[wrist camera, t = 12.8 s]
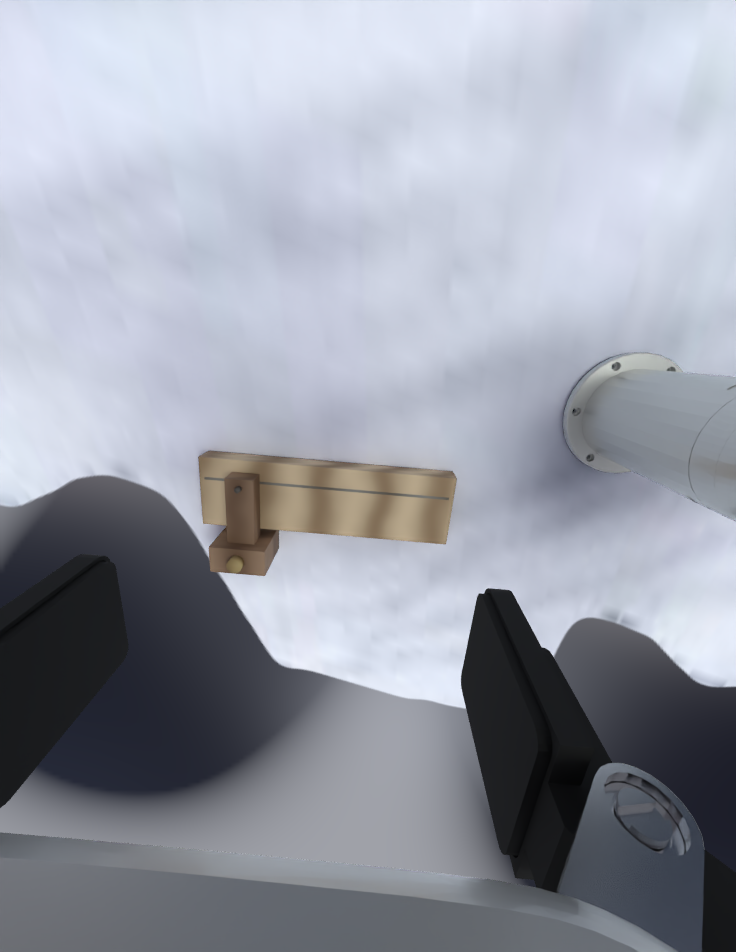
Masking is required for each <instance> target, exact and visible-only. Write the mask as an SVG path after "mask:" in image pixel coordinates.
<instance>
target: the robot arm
mask: <svg viewBox="0 0 736 952" xmlns="http://www.w3.org/2000/svg"><path fill="white" fill-rule="evenodd" d="M612 365H613V367H612ZM573 409H574V412H573V413H572V411H573ZM563 430H564V436H565V439H566V442H567V445H568V446H569V448H570V450H571V452H572V453H573V454H574V455H575V456H576V457H577V458H578V459H579V460H580V461H582V462H583V463H585V464H586V465H588V466H590V467H592V468H594V469H596V470H599V471H603V472H607V473H626V472H631V471H633V472H635V473H637V474H639V475H641V476H643V477H645V478H647V479H649V480H651V481H653V482H656V483H658V484H660V485H662V486H664V487H666V488H668V489H670V490H672V491H674V492H676V493H678V494H680V495H682V496H684V497H686V498H688V499H690V500H692V501H694V502H696V503H698V504H700V505H702V506H704V507H707V508H709V509H711V510H713V511H715V512H717V513H719V514H721V515H723V516H725V517H727V518H729V519H732V520H734V521H736V377H733V376H721V375H709V374H697V373H685V372H683V371H682V370H681V368H680V367H679V366H678V365H676V364H675V363H674V362H672V361H671V360H670V359H667V358H665V357H663V356H661V355H657V354H651V353H637V352H636V353H627V354H622V355H619V356H615V357H612V358H610V359H608V360H606V361H604V362H602V363H600V364H599V365H597V366H596V367H594V368H593V369H592V370H590V371H589V372H588V373H587V374H586V375H585V376H584V377H583V378H582V379H581V380H580V381H579V383H578V384H577V385H576V387H575V388H574V390H573V391H572V393H571V395H570V397H569V399H568V401H567V404H566V408H565V411H564V418H563ZM587 455H588V457H587ZM127 652H128V639H127V633H126V627H125V621H124V615H123V609H122V602H121V596H120V590H119V584H118V578H117V573H116V567H115V565H114V563H112V562H110V559H109V558H108V557H106V556H100V555H89V554H80V555H78V556H76V557H75V558H73V559H72V560H70V561H69V562H67V563H66V564H64V565H63V566H62V567H60V568H59V569H57V570H56V571H54V572H53V573H52V574H50V575H48V576H47V577H46V578H44V579H43V580H41V581H40V582H39V583H37V584H35V585H34V586H33V587H31V588H30V589H28V590H27V591H25V592H24V593H22V594H21V595H19V596H18V597H17V598H15V599H14V600H12V601H11V602H9V603H8V604H6V605H5V606H3V607H2V608H0V808H1V807H2V806H3V805H5V804H6V803H7V802H8V801H9V800H10V799H11V797H12V796H13V795H14V794H15V793H16V791H17V790H18V789H19V788H20V786H21V785H22V784H23V783H24V781H25V780H26V779H27V778H28V777H29V775H30V774H31V773H32V772H33V771H34V769H35V768H36V767H37V766H38V765H39V763H40V762H41V761H42V759H43V758H44V757H45V756H46V755H47V753H48V752H49V751H50V750H51V749H52V747H53V746H54V745H55V744H56V743H57V741H58V740H59V739H60V738H61V736H62V735H63V734H64V733H65V732H66V730H67V729H68V728H69V727H70V726H71V724H72V723H73V722H74V721H75V719H76V718H77V717H78V716H79V715H80V713H81V712H82V711H83V709H84V708H85V707H86V706H87V705H88V703H89V702H90V701H91V700H92V699H93V697H94V696H95V695H96V694H97V692H98V691H99V690H100V689H101V688H102V686H103V685H104V684H105V683H106V682H107V680H108V679H109V678H110V677H111V675H112V674H113V673H114V672H115V671H116V669H117V668H118V667H119V666H120V665H121V663H122V662H123V661H124V659H125V657H126V655H127ZM461 687H462V692H463V697H464V701H465V705H466V709H467V713H468V718H469V722H470V726H471V730H472V735H473V739H474V743H475V747H476V752H477V756H478V760H479V764H480V768H481V773H482V777H483V781H484V785H485V789H486V794H487V798H488V802H489V806H490V811H491V815H492V819H493V823H494V827H495V832H496V836H497V840H498V844H499V848H500V850H501V852H502V853H503V854H504V855H510V859H511V862H512V867H513V871H514V875H515V878H522V879H533V880H534V881H535V884H536V888H534V887H529V886H524V885H518V884H513V883H507V882H502V881H496V880H490V879H482V878H474V877H465V876H457V875H449V874H440V873H431V872H423V871H415V870H406V869H398V868H387V867H377V866H366V865H356V864H346V863H335V862H325V861H314V860H304V859H293V858H283V857H272V856H262V855H252V854H239V853H229V852H218V851H206V850H196V849H185V848H173V847H163V846H151V845H140V844H129V843H117V842H105V841H93V840H83V839H82V840H81V839H72V838H59V837H46V836H35V835H23V834H11V833H0V952H736V872H734V871H733V870H732V869H730V868H729V867H727V866H726V865H725V864H723V863H722V862H721V861H719V860H718V859H717V858H715V857H714V856H713V855H711V854H710V853H709V852H707V851H706V850H704V845H703V839H702V835H701V832H700V830H699V828H698V826H697V824H696V822H695V820H694V818H693V817H692V815H691V814H690V813H689V811H688V810H687V808H686V807H685V806H684V804H683V803H682V802H681V801H680V800H679V799H678V798H677V797H676V796H675V795H674V794H673V793H672V792H671V791H670V790H669V789H668V788H667V787H666V786H665V785H663V784H662V783H661V782H659V781H658V780H657V779H655V778H654V777H653V776H651V775H649V774H647V773H646V772H644V771H642V770H640V769H638V768H636V767H633V766H629V765H626V764H622V763H612V761H611V760H610V758H609V756H608V754H607V752H606V751H605V749H604V747H603V745H602V743H601V742H600V740H599V738H598V736H597V734H596V733H595V731H594V729H593V727H592V725H591V724H590V722H589V720H588V718H587V716H586V715H585V713H584V711H583V709H582V708H581V706H580V704H579V702H578V700H577V699H576V697H575V695H574V693H573V691H572V689H571V688H570V686H569V684H568V682H567V681H566V679H565V677H564V675H563V673H562V672H561V670H560V668H559V666H558V664H557V663H556V661H555V659H554V657H553V656H552V654H551V653H550V651H549V650H547V649H546V648H542V647H541V646H540V644H539V642H538V640H537V638H536V636H535V634H534V632H533V631H532V629H531V627H530V625H529V623H528V621H527V619H526V617H525V616H524V614H523V612H522V610H521V608H520V606H519V604H518V603H517V601H516V599H515V597H514V595H513V593H512V592H511V591H510V590H501V589H489V588H488V589H486V591H485V593H484V594H479V595H478V597H477V601H476V606H475V611H474V615H473V620H472V625H471V630H470V635H469V640H468V645H467V650H466V655H465V660H464V665H463V669H462V675H461Z"/></svg>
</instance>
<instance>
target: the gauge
mask: <svg viewBox="0 0 736 952" xmlns="http://www.w3.org/2000/svg"><path fill="white" fill-rule="evenodd" d="M224 484H225V504H226V524H227V526H226V528H225V529H224V530H223V531H222V532H221V533H220V535H219V536H218V537H217V538H216V539H215V541H214V542H213V543H212V544H211V545H210V546H209V558H210V571H212V572H224V573H236V574H247V575H259V576H265V575H266V573H267V571H268V569H269V567H270V565H271V563H272V561H273V559H274V557H275V555H276V553H277V551H278V549H279V530H273V529H261V528H260V477H259V474H252V473H240V472H231V473H230V474H229V475H228V476H227V477H225V478H224Z"/></svg>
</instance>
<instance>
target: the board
mask: <svg viewBox="0 0 736 952" xmlns="http://www.w3.org/2000/svg"><path fill="white" fill-rule="evenodd" d="M198 458H199V472H200V487H201V501H202V515H203V524H214V525H226V526H227V524H226V504H225V484H224V478H225V477H227V476H228V475H229V474H230V473H231V472H240V473H252V474H259V477H260V528H261V529H273V530H284V531H296V532H308V533H319V534H331V535H343V536H354V537H366V538H378V539H390V540H401V541H413V542H425V543H436V544H446V541H447V535H448V529H449V523H450V517H451V511H452V504H453V498H454V492H455V486H456V480H457V478H456V477H455V475H454V473H453V472H452V471H440V470H429V469H417V468H405V467H393V466H381V465H370V464H358V463H346V462H334V461H323V460H311V459H299V458H287V457H275V456H264V455H252V454H240V453H228V452H217V451H207V452H206V453H204V454H202V455H201V456H199V457H198Z"/></svg>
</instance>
